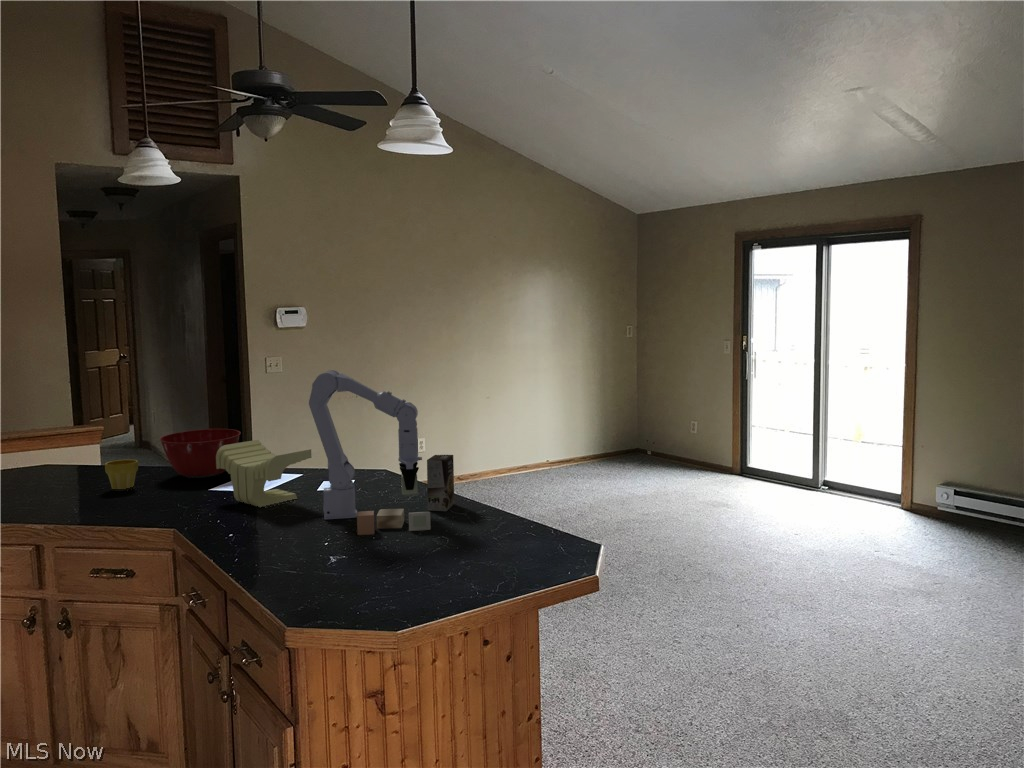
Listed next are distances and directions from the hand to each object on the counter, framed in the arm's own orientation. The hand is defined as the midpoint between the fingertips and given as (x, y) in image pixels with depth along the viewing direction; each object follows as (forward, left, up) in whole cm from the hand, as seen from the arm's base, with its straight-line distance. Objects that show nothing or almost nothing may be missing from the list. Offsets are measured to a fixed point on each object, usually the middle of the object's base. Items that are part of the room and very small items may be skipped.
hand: (409, 487), depth 240 cm
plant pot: (-98, +55, -8) cm, 113 cm away
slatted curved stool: (-46, +26, -8) cm, 54 cm away
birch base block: (-6, -10, -8) cm, 14 cm away
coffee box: (+10, +6, -8) cm, 14 cm away
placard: (+2, -17, -8) cm, 19 cm away
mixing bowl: (-75, +73, -8) cm, 105 cm away
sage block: (0, 0, -2) cm, 2 cm away
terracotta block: (-13, -16, -8) cm, 22 cm away
